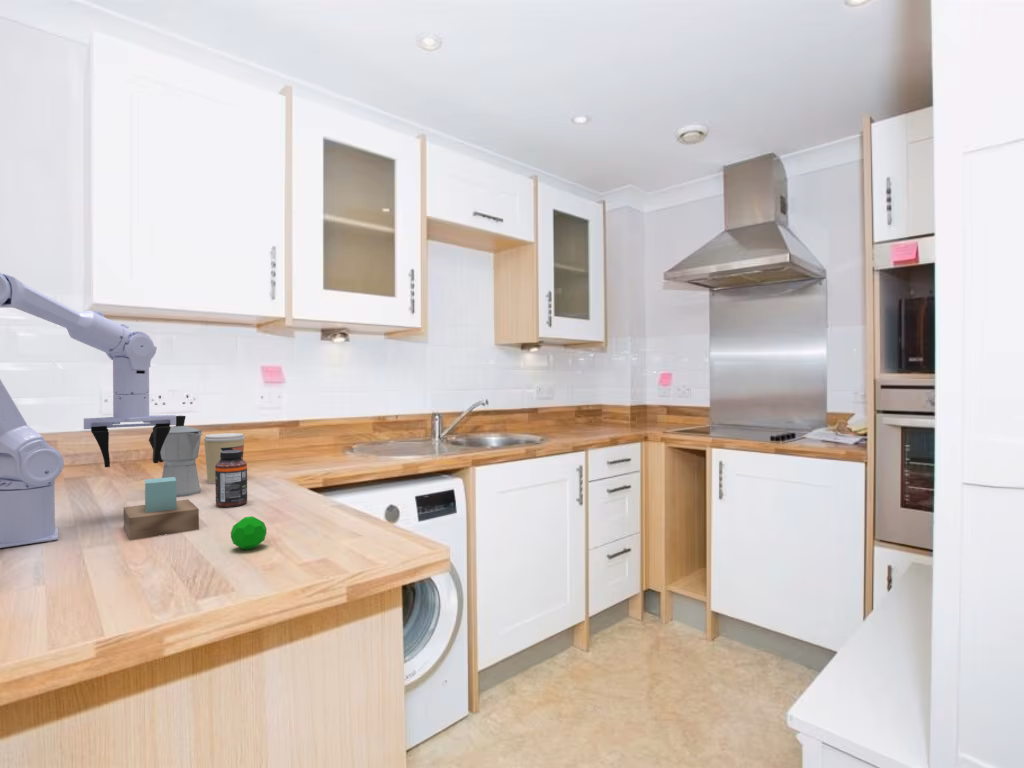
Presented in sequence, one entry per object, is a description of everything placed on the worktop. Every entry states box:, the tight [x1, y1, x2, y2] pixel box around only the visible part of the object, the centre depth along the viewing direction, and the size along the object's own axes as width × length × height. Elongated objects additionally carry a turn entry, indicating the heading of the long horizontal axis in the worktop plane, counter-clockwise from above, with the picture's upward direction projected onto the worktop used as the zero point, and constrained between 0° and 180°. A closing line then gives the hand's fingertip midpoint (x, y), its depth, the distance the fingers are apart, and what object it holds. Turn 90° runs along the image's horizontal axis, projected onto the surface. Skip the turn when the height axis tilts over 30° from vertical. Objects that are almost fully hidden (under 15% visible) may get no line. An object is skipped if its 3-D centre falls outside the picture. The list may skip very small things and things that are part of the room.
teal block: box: [144, 477, 177, 513], centre depth 96 cm, size 4×4×5 cm
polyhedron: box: [230, 516, 267, 551], centre depth 85 cm, size 5×5×5 cm
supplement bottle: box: [215, 450, 248, 508], centre depth 114 cm, size 6×6×11 cm
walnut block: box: [123, 498, 200, 541], centre depth 96 cm, size 10×10×4 cm
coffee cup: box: [203, 432, 246, 485], centre depth 141 cm, size 9×9×12 cm
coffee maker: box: [148, 415, 203, 498], centre depth 126 cm, size 15×9×18 cm, turn 74°
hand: (132, 464), depth 105 cm, fingers open, 7 cm apart
